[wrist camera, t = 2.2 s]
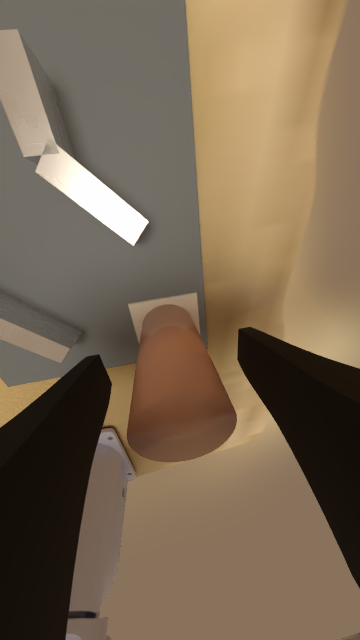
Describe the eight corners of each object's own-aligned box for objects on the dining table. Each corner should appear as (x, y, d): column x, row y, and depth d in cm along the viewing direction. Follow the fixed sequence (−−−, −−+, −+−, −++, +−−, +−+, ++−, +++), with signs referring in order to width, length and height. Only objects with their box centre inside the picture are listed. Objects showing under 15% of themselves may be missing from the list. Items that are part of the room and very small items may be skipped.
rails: (168, 327, 12) (170, 343, 10) (-8, 358, 11) (-38, 381, 9) (123, 78, 7) (112, 23, 5) (-208, 105, 6) (-357, 51, 4)
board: (206, 346, 14) (208, 350, 13) (12, 382, 13) (6, 388, 12) (166, -234, 5) (168, -293, 4) (-492, -260, 4) (-597, -339, 3)
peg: (195, 345, 13) (235, 449, 7) (147, 354, 13) (141, 470, 6) (191, 299, 11) (238, 380, 5) (135, 309, 11) (111, 406, 5)
